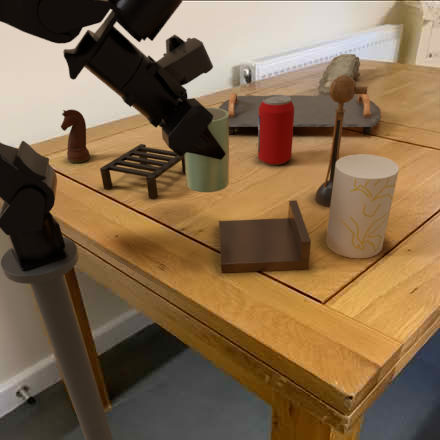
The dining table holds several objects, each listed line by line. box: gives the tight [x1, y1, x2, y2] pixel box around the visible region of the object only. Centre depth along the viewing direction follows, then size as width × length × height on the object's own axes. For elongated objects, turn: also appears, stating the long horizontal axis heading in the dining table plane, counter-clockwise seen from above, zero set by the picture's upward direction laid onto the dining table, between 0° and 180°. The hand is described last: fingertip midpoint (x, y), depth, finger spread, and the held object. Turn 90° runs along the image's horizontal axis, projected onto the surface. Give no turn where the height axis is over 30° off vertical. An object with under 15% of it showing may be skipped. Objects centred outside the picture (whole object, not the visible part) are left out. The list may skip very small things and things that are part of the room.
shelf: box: [218, 199, 312, 274], centre depth 68 cm, size 12×12×4 cm
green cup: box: [184, 106, 230, 193], centre depth 66 cm, size 6×6×10 cm
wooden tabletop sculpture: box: [314, 75, 368, 208], centre depth 74 cm, size 6×5×20 cm
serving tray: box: [218, 92, 382, 136], centre depth 112 cm, size 39×23×6 cm, turn 84°
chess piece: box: [60, 108, 91, 164], centre depth 96 cm, size 5×5×10 cm
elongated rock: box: [317, 53, 361, 95], centre depth 135 cm, size 35×5×10 cm
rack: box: [99, 143, 186, 200], centre depth 88 cm, size 13×11×4 cm
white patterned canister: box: [325, 153, 400, 259], centre depth 66 cm, size 8×8×12 cm
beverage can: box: [257, 94, 294, 166], centre depth 91 cm, size 7×7×12 cm
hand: (215, 148), depth 67 cm, fingers closed on green cup, 6 cm apart
